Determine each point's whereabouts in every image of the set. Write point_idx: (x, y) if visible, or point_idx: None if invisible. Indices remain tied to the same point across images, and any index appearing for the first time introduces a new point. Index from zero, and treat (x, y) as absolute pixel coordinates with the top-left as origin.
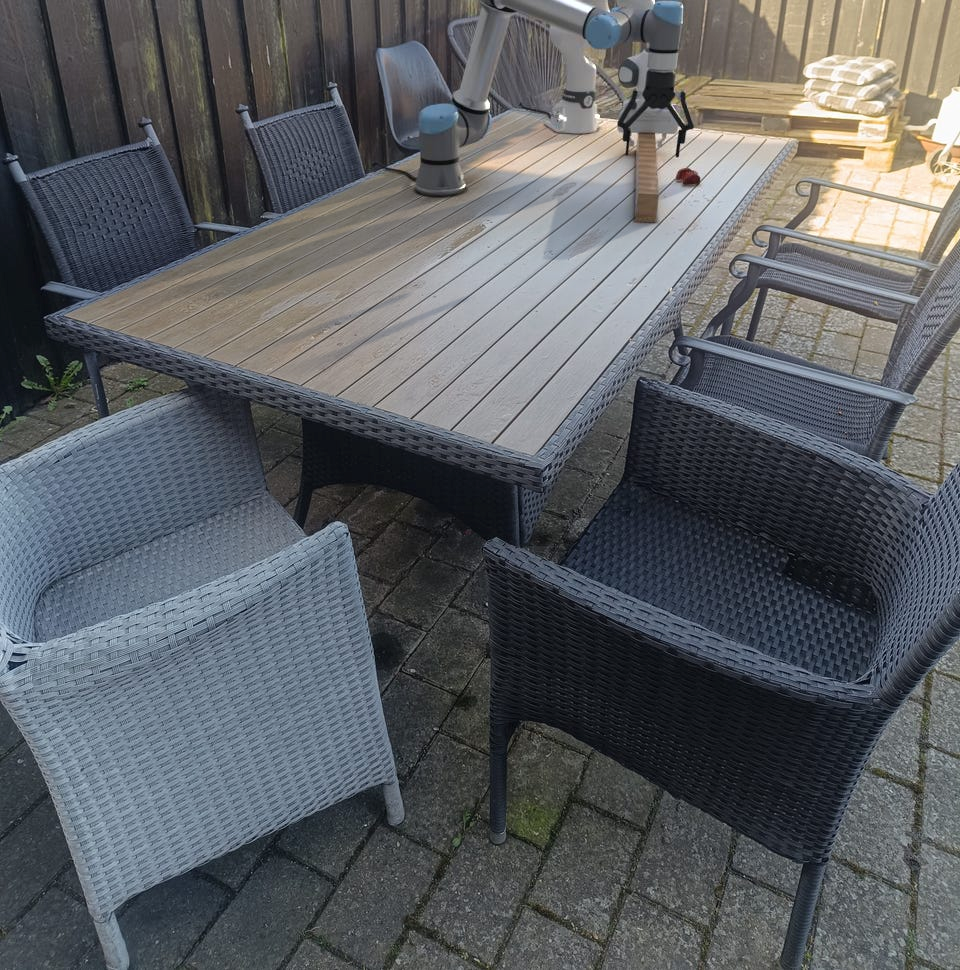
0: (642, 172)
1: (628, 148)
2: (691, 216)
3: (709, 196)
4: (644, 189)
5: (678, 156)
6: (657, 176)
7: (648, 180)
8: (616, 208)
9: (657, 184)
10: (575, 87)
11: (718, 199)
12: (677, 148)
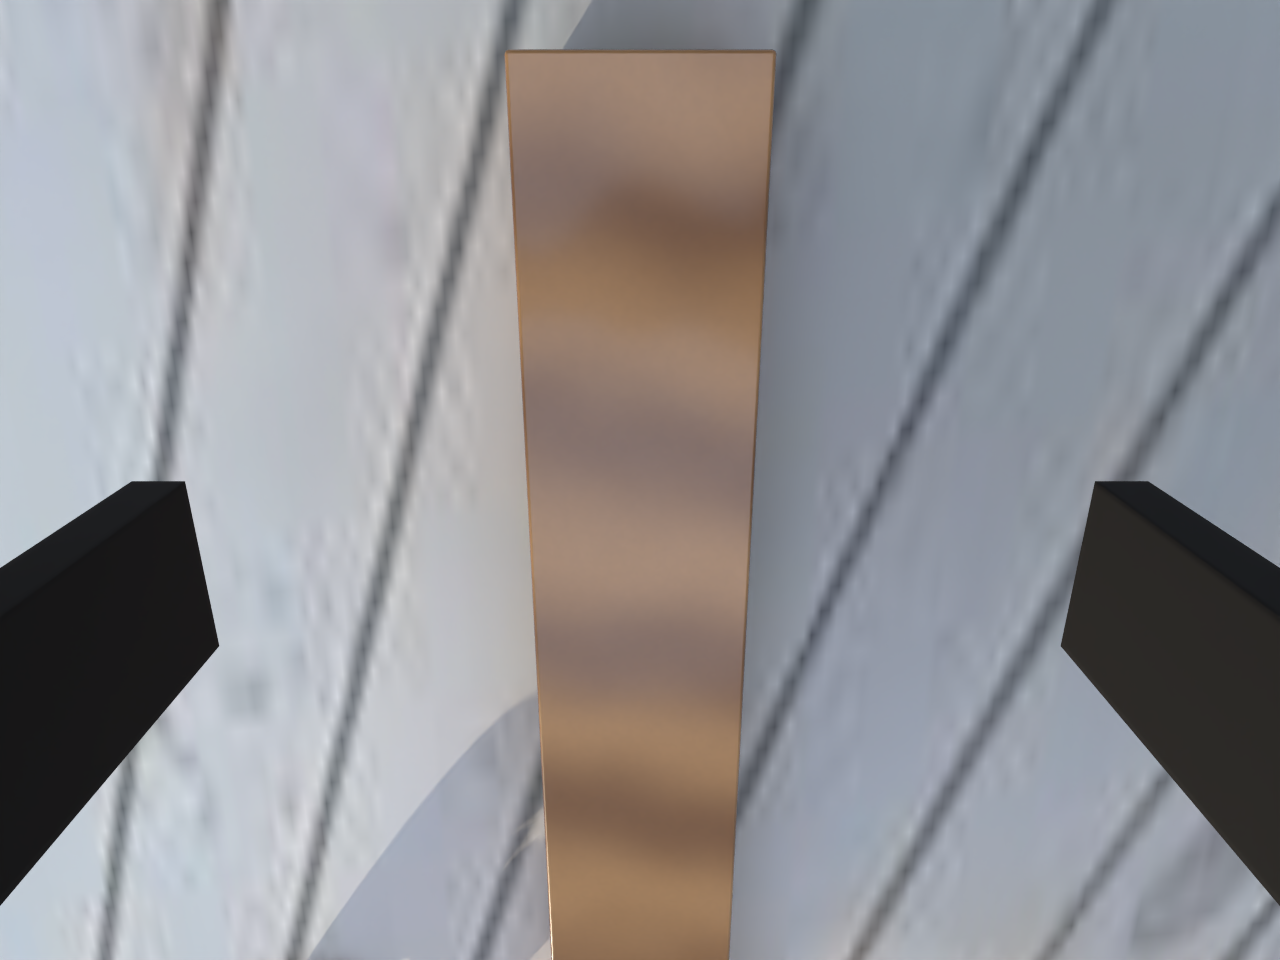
0: (694, 836)
1: (1174, 535)
2: (235, 320)
3: (164, 809)
4: (689, 241)
5: (128, 485)
6: (543, 738)
7: (636, 596)
8: (882, 439)
9: (535, 469)
10: None
11: None
12: (77, 553)
